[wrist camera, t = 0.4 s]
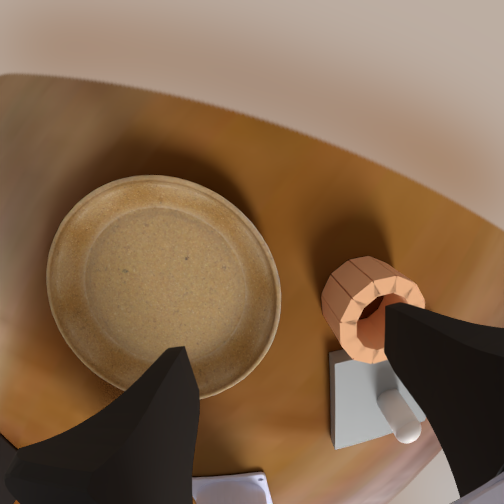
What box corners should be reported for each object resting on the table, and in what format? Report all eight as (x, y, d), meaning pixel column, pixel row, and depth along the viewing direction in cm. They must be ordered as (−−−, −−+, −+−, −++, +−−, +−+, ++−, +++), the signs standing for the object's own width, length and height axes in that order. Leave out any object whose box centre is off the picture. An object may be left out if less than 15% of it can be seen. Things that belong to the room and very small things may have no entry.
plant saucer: (63, 350, 21) (49, 368, 19) (76, 155, 18) (56, 155, 15) (244, 395, 23) (246, 418, 20) (302, 204, 19) (313, 210, 17)
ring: (394, 322, 22) (420, 349, 18) (324, 339, 22) (340, 372, 18) (395, 250, 20) (426, 268, 16) (318, 265, 20) (337, 288, 16)
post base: (418, 410, 25) (448, 455, 19) (330, 438, 25) (349, 492, 18) (432, 324, 22) (479, 366, 16) (328, 352, 22) (358, 411, 16)
